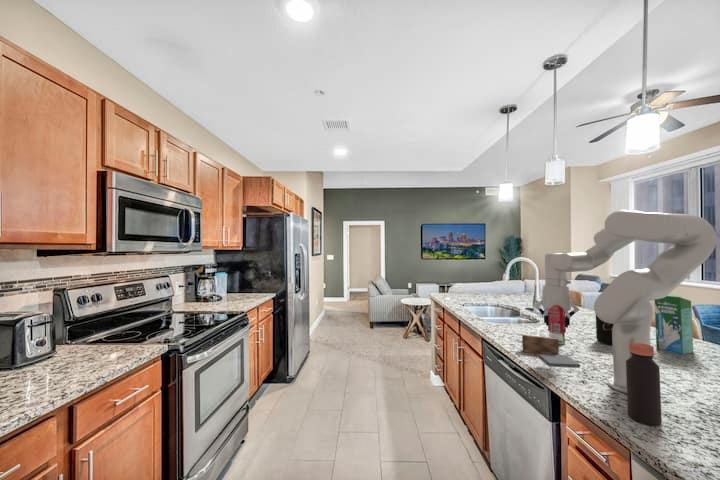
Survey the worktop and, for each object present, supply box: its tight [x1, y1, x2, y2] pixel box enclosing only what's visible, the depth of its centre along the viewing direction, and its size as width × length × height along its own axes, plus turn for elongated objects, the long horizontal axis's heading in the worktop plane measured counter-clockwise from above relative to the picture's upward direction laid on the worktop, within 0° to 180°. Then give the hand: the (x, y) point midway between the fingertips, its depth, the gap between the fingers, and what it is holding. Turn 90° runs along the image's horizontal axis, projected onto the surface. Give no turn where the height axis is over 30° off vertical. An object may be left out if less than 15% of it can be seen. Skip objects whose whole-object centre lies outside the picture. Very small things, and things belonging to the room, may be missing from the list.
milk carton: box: [654, 294, 694, 355], centre depth 140 cm, size 9×9×25 cm
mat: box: [537, 354, 581, 368], centre depth 128 cm, size 11×11×1 cm
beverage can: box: [547, 305, 567, 334], centre depth 129 cm, size 6×6×12 cm
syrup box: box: [548, 331, 566, 345], centre depth 154 cm, size 6×6×14 cm
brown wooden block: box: [521, 334, 560, 355], centre depth 139 cm, size 14×5×7 cm, turn 61°
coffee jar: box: [595, 314, 614, 347], centre depth 152 cm, size 11×11×18 cm
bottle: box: [626, 343, 663, 427], centre depth 85 cm, size 7×7×20 cm
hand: (556, 325), depth 129 cm, fingers closed on beverage can, 6 cm apart
